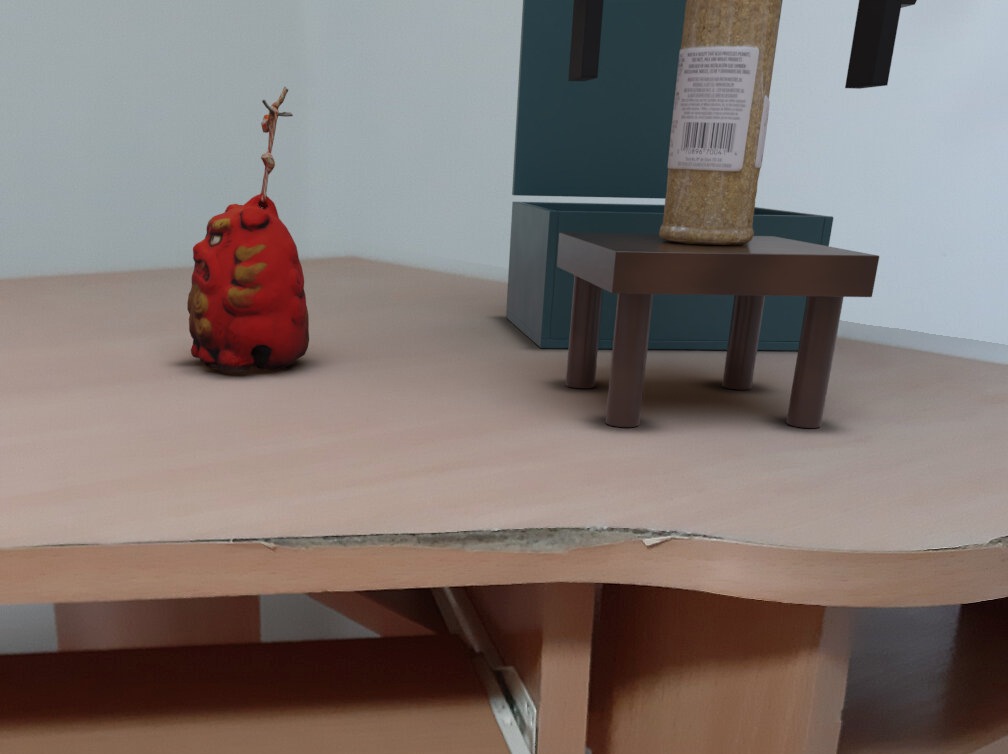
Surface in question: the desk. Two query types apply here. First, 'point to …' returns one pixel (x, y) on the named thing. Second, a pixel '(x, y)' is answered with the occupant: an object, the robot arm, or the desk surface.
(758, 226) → the chest
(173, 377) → the desk surface
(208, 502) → the desk surface
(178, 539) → the desk surface
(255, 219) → the red clay folk toy
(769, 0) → the tan spice jar
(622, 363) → the stool
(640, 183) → the chest lid
